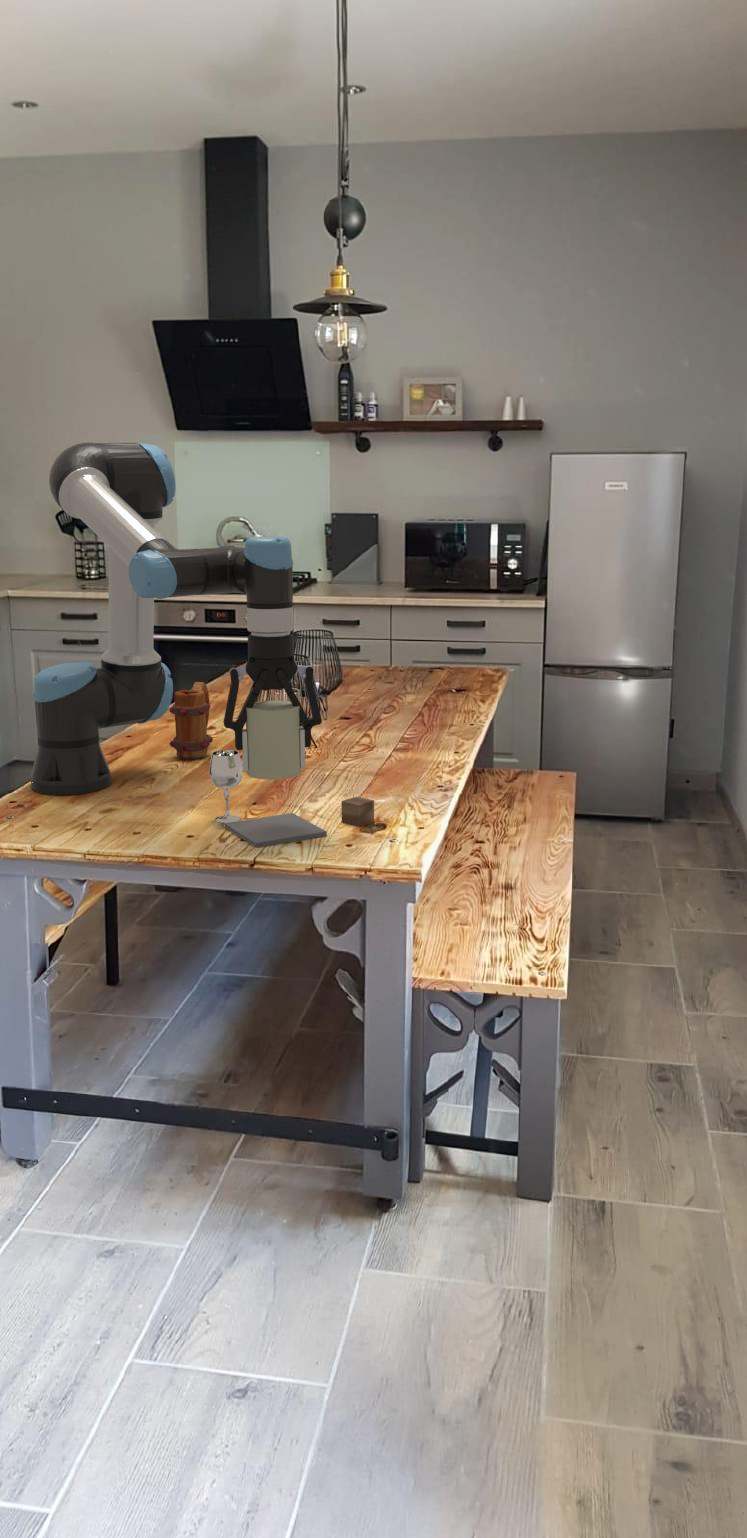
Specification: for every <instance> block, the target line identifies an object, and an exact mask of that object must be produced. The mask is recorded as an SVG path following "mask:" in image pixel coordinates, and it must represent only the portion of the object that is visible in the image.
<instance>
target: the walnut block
mask: <svg viewBox="0 0 747 1538" xmlns="http://www.w3.org/2000/svg"><path fill="white" fill-rule="evenodd" d="M341 823H342V824H345V825H349V826H354V827H356V828H360V827H363V826H366V825H369V824H372V823H375V800H374V799H373V800H372V799H369V798H364V797H361V796H354V797H351V798H347V799H344V800H341Z"/></svg>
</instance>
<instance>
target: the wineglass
mask: <svg viewBox="0 0 747 1538" xmlns="http://www.w3.org/2000/svg"><path fill="white" fill-rule="evenodd" d="M209 761H210V762H209V769H208V771H209V773H208V774H209V778H210V781H211V783H212V784H213V785H214V786H215V787H217V788H220V789H224V791H223V797H224V800H225V813H224V815H219V816H217V817H215V818H214V821H215V822H217V823H222V824H224V823H230V822H236V821H241V818H240V817H239V816H237V815H233V814H231V813H230V810H229V800H230V795H231V793H230V790H229V789H233V788H235V787H236V786H238V785H239V784H241V782H242V778H243V773H244V772H243V771H244V770H243V766H242V757H241V755H240V752H239V750H232V749H220V750H216V751H213V752H211V757H210V760H209Z"/></svg>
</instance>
